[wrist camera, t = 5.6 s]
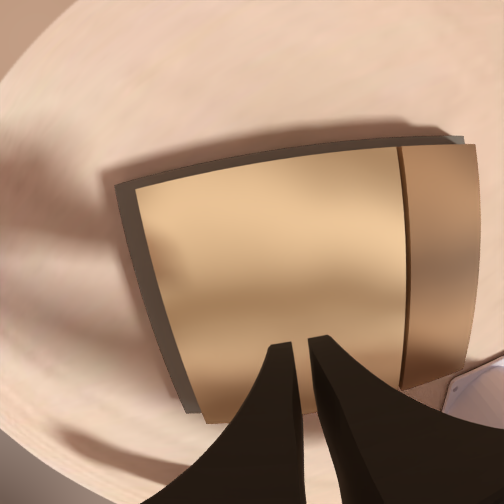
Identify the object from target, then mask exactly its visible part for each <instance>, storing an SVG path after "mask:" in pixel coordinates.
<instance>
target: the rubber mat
mask: <svg viewBox="0 0 504 504" xmlns="http://www.w3.org/2000/svg"><path fill="white" fill-rule="evenodd" d="M448 144H465V143H464V136H413V137H392V138H376V139H363V140H351V141H341V142H331V143H322V144H314V145H306V146H298V147H291V148H284V149H278V150H271V151H265V152H259V153H253V154H247V155H242V156H236V157H231V158H226V159H220V160H215V161H211V162H206V163H201V164H196V165H192V166H187V167H183V168H179V169H174V170H170V171H166V172H162V173H158V174H154V175H150V176H146V177H142V178H139V179H135V180H131V181H128V182H124V183H121V184H117V185H114V186H115V191H116V196H117V201H118V206H119V210H120V215H121V219H122V224H123V228H124V232H125V236H126V240H127V244H128V248H129V252H130V256H131V259H132V263H133V267H134V270H135V274H136V277H137V281H138V284H139V288H140V291H141V294H142V297H143V301H144V304H145V307H146V310H147V313H148V316H149V319H150V322H151V325H152V328H153V331H154V334H155V337H156V340H157V342H158V345H159V348H160V351H161V353H162V356H163V359H164V361H165V364H166V367H167V369H168V372H169V374H170V377H171V379H172V382H173V384H174V387H175V389H176V391H177V394H178V396H179V399H180V401H181V403H182V405H183V408H184V410H185V412H186V413H202V412H201V409H200V407H199V404H198V402H197V399H196V396H195V394H194V391H193V389H192V386H191V383H190V381H189V378H188V375H187V372H186V370H185V367H184V364H183V361H182V358H181V356H180V353H179V350H178V347H177V344H176V341H175V338H174V335H173V332H172V329H171V326H170V322H169V319H168V316H167V313H166V310H165V306H164V303H163V300H162V296H161V293H160V289H159V286H158V282H157V279H156V275H155V271H154V267H153V264H152V260H151V256H150V252H149V248H148V244H147V240H146V236H145V232H144V227H143V223H142V219H141V214H140V210H139V205H138V200H137V195H136V190H135V189H139V188H142V187H146V186H150V185H154V184H158V183H163V182H167V181H171V180H175V179H180V178H184V177H189V176H193V175H198V174H203V173H208V172H212V171H217V170H223V169H228V168H233V167H238V166H244V165H250V164H255V163H261V162H267V161H274V160H280V159H287V158H294V157H301V156H308V155H316V154H324V153H332V152H341V151H351V150H361V149H372V148H385V147H401V146H418V145H448Z"/></svg>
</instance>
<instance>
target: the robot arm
mask: <svg viewBox="0 0 504 504" xmlns="http://www.w3.org/2000/svg"><path fill="white" fill-rule="evenodd" d="M308 346H309V355H310V364H311V373H312V382H313V391H314V396H315V401H316V406H317V412H318V416H319V420H320V423H321V426H322V429H323V432H324V436H325V439H326V442H327V445H328V448H329V452H330V455H331V458H332V461H333V464H334V467H335V471H336V474H337V478H338V482H339V487H340V493H341V499H342V504H504V355H503V356H501V357H499V358H497V359H495V360H493V361H491V362H489V363H487V364H485V365H483V366H481V367H478V368H476V369H474V370H472V371H469V372H467V373H465V374H462V375H460V376H458V377H455V378H454V379H453V380H452V381H451V382H450V385H449V388H448V392H447V396H446V399H445V403H444V406H443V409H442V412H440V411H438V410H435V409H433V408H430V407H428V406H426V405H424V404H422V403H420V402H418V401H416V400H414V399H412V398H410V397H408V396H406V395H404V394H403V393H401V392H399V391H398V390H396V389H394V388H393V387H391V386H390V385H388V384H387V383H385V382H384V381H382V380H381V379H380V378H378V377H377V376H375V375H374V374H373V373H371V372H370V371H369V370H368V369H366V368H365V367H364V366H363V365H361V364H360V363H359V362H358V361H356V360H355V359H354V358H353V357H352V356H351V355H350V354H349V353H347V352H346V351H345V350H344V349H343V348H342V347H341V346H340V345H339V344H338V343H337V342H336V341H335V340H334V339H333V338H332V337H331V336H329V335H323V336H317V337H312V338H308ZM140 504H306V495H305V484H304V441H303V416H302V409H301V402H300V394H299V387H298V380H297V373H296V366H295V359H294V353H293V347H292V342H291V341H290V342H284V343H278V344H271V345H270V346H269V347H268V349H267V353H266V356H265V359H264V362H263V364H262V367H261V369H260V372H259V374H258V376H257V378H256V380H255V382H254V384H253V386H252V388H251V390H250V392H249V394H248V395H247V397H246V399H245V400H244V402H243V404H242V405H241V407H240V409H239V410H238V412H237V413H236V415H235V416H234V418H233V419H232V420H231V422H230V423H229V425H228V426H227V427H226V428H225V430H224V431H223V432H222V434H221V435H220V436H219V437H218V438H217V440H216V441H215V442H214V443H213V444H212V445H211V446H210V447H209V448H208V449H207V451H206V452H205V453H204V454H203V455H202V456H201V457H200V458H199V459H198V460H197V461H196V462H195V463H194V464H193V465H191V466H190V467H189V468H188V469H187V470H186V471H185V472H183V473H182V474H181V475H180V476H178V477H177V478H176V479H175V480H174V481H172V482H171V483H170V484H169V485H167V486H166V487H165V488H163V489H162V490H161V491H159V492H158V493H156V494H155V495H153V496H152V497H150V498H149V499H147V500H145V501H144V502H142V503H140Z"/></svg>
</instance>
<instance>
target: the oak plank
mask: <svg viewBox="0 0 504 504" xmlns="http://www.w3.org/2000/svg"><path fill="white" fill-rule="evenodd" d="M135 190H136V195H137V200H138V205H139V210H140V214H141V219H142V223H143V227H144V232H145V236H146V240H147V244H148V248H149V252H150V256H151V260H152V264H153V267H154V271H155V275H156V279H157V282H158V286H159V289H160V293H161V296H162V300H163V303H164V306H165V310H166V313H167V316H168V319H169V322H170V326H171V329H172V332H173V335H174V338H175V341H176V344H177V347H178V350H179V353H180V356H181V358H182V361H183V364H184V367H185V370H186V372H187V375H188V378H189V381H190V383H191V386H192V389H193V391H194V394H195V396H196V399H197V402H198V404H199V407H200V409H201V412H202V414H203V416H204V419H205V421H206V424H218V423H230V422H231V420H232V419H233V418H234V416H235V415H236V413H237V412H238V410H239V409H240V407H241V405H242V404H243V402H244V400H245V399H246V397H247V395H248V394H249V392H250V390H251V388H252V386H253V384H254V382H255V380H256V378H257V376H258V374H259V372H260V369H261V367H262V364H263V362H264V359H265V356H266V353H267V349H268V347H269V346H270V345H271V344H278V343H284V342H290V341H291V342H292V347H293V353H294V359H295V366H296V373H297V380H298V387H299V394H300V402H301V409H302V415H303V414H309V413H315V412H317V406H316V401H315V396H314V391H313V382H312V373H311V364H310V355H309V346H308V338H312V337H317V336H323V335H329V336H331V337H332V338H333V339H334V340H335V341H336V342H337V343H338V344H339V345H340V346H341V347H342V348H343V349H344V350H345V351H346V352H347V353H349V354H350V355H351V356H352V357H353V358H354V359H355V360H356V361H358V362H359V363H360V364H361V365H363V366H364V367H365V368H366V369H368V370H369V371H370V372H371V373H373V374H374V375H375V376H377V377H378V378H380V379H381V380H382V381H384V382H385V383H387V384H388V385H390V386H391V387H393V388H394V389H396V390H398V386H399V378H400V370H401V361H402V351H403V340H404V325H405V305H406V245H405V224H404V210H403V198H402V188H401V179H400V170H399V163H398V156H397V149H396V147H385V148H372V149H361V150H351V151H341V152H332V153H324V154H316V155H308V156H301V157H294V158H287V159H280V160H274V161H267V162H261V163H255V164H250V165H244V166H238V167H233V168H228V169H223V170H217V171H212V172H208V173H203V174H198V175H193V176H189V177H184V178H180V179H175V180H171V181H167V182H163V183H158V184H154V185H150V186H146V187H142V188H139V189H135Z"/></svg>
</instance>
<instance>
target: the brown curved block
mask: <svg viewBox="0 0 504 504" xmlns="http://www.w3.org/2000/svg"><path fill="white" fill-rule="evenodd" d="M396 149H397V156H398V163H399V170H400V179H401V188H402V198H403V210H404V224H405V245H406V305H405V325H404V340H403V351H402V361H401V370H400V378H399V387H400V389H401V390H402V391H403V390H407V389H410V388H413V387H416V386H419V385H422V384H425V383H427V382H430V381H433V380H436V379H439V378H441V377H444V376H447V375H449V374H452V373H454V372H457V371H459V370H462V369H463V367H464V362H465V358H466V354H467V349H468V344H469V339H470V334H471V329H472V323H473V317H474V310H475V303H476V295H477V286H478V275H479V261H480V238H481V211H480V188H479V174H478V163H477V155H476V147H475V144H448V145H418V146H401V147H396Z"/></svg>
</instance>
